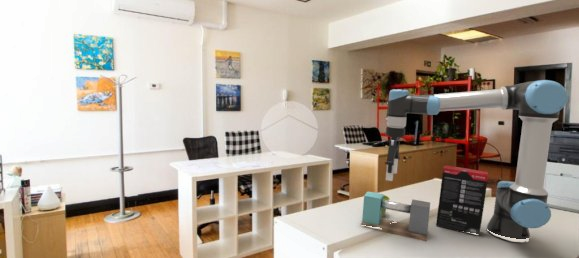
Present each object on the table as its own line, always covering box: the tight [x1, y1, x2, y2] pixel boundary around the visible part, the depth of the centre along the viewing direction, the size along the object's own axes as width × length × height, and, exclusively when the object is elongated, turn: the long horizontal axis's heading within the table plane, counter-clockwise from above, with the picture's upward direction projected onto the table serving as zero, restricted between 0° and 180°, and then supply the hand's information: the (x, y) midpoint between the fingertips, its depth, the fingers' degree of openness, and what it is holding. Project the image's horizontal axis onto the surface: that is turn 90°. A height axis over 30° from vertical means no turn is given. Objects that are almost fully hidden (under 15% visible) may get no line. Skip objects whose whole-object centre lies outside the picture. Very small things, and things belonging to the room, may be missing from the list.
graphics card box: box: [435, 164, 489, 235], centre depth 138 cm, size 17×7×27 cm, turn 59°
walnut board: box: [360, 218, 428, 242], centre depth 136 cm, size 26×10×2 cm, turn 65°
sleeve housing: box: [408, 198, 431, 237], centre depth 131 cm, size 7×7×12 cm
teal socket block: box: [361, 191, 384, 225], centre depth 139 cm, size 7×7×12 cm
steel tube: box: [381, 200, 411, 214], centre depth 135 cm, size 17×4×4 cm, turn 65°
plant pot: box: [382, 194, 390, 217], centre depth 151 cm, size 9×9×9 cm
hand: (391, 176), depth 135 cm, fingers open, 13 cm apart
